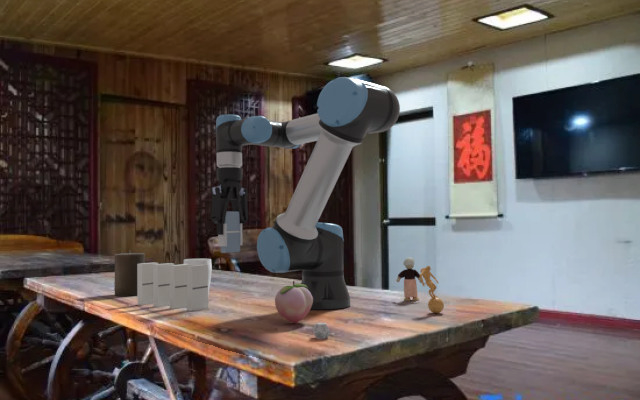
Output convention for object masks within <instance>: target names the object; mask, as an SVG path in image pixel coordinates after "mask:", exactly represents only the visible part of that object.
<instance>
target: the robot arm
mask: <svg viewBox="0 0 640 400" xmlns="http://www.w3.org/2000/svg"><path fill="white" fill-rule="evenodd" d="M316 107H317V108H318V109H317V112H316V113H313V114H310V115H305V116H302V117H298V118H294V119H291V120H287V121H276V120H275V121H273V120H269V119H268V118H266V117H265V116H263V115H252V116H248V117H246V118H242V117H241V116H240V115H237V114H220V115H218V116H217V117H216V120H215V123H216V124H215V145H216V150H215V151H216V167H218V168H216V180H217V181H218V184H217V186H214V187H213V186H212V187H211V188H210V192H211V193H210V194H211V208H210V209H211V211H210V213H211V215H210V219H211V222H213V224H215V225H216V235H218V237H217V239H218V240H217V241H218V244H217V245H218V247H221V246H227V224H223V223H224V222H225V217H226V212H227V211H228V207H229V206H228V205H229V203H230V204H231V207H232V212H239V214H240V246H243V239H244V238H243V234H244V224H246V223H247V222H248V221H249V209H248V208H249V207H248V192H249V189H248V188H244V187H242V185H241V181H242V180H243V169H242V166H243V146H248V145H249V146H251V145H253V146H255V145H256V146H261V147H262V146H263V147H264V146H265V147H275V148H281V149H285V150H289V149H297V148H299V147H300V146H301V145H303V144H308V143H312V142H316V143H315V144H314V148H313V149H312V150H311V151H312V152H311V154H310V156H309V158H308V160H307V163H306V165H305V168H304V170H303V172H302V174H301V177H300V179H299V181H298V182H297V185H296V187H295V190H294V192H293V194H292V197H291V198H290V201H289V204H288V206H287V209H286V210H285V212H283V213H280V214H277V216H276V218H275V221H274V223H273V225H272V226H271V227H266V228H264V229H262V231H260V233H259V235H258V237H257V241H256V250H257V255H258V258H259V261H260V263H261V265H262V266H263V267H264V268H265V269H266V270H267V271H269V272H271V273H280V274H284V273H288V272H289V273H290V272H298V271H302V273H301V275H302V278H301V283H300V284H303V285H306V286H307V287H308V290H309V291H310V293H311V295H312V297H313V303H312V306H311V309H310V310H338V309H344V308H347V307H351V296H350V293H349V291H348V290H349V289H348V287H347V283H346V282H345V281H346V280H345V277H344V266H345V265H344V257H345V255H344V254H345V253H344V251H345V250H344V242H345V239H344V233H343V228H342V226H340V225H339V224H336V223H328V222H319V219H320V218H321V215H322V213H323V211H324V210H325V207H326V205H327V204H328V200H329V198H330V196H331V194H332V193H333V190H334V188H335V186H336V183H337V182H338V179H339V177H340V175H341V172H342V171H343V169H344V168H345V167H344V166H345V164H346V163H347V160H348V159H349V156H350V154H351V151H352V150H353V148H354V147H356V146H359V145H361V144H362V143H363V141H364V139H365V137H366V135H371V134H377V133H383V132H386V131H388V130H390V129H391V128H392V127H393V126H395V124H396V122H397V121H398V118H399V116H400V113H401V112H400V111H401V110H400V109H401V105H400V101H399V99H398V97H397V95H396V94H395V92H393V90H391V89H390V88H389V87H387V86H385V85H381V84H377V83H373V82H369V81H365V80H362V79H358V78H357V77H346V76H342V77H341V76H340V77H337V78H334V79H332V80H331V81H329V82H328V83H326V85H325V86H324V87H323V88H322V90H321V92H320V93H319V95H318V98H317V102H316ZM220 218H221V219H220ZM306 289H307V288H306Z"/></svg>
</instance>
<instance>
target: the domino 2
mask: <svg viewBox="0 0 640 400" xmlns="http://www.w3.org/2000/svg"><path fill="white" fill-rule="evenodd" d="M169 265H175V263H173V262H168V263H167V262H166V263H158V264H155V265H153V305H152V307H153V308H160V307H162V308H163V307H167V306H170V269H169Z"/></svg>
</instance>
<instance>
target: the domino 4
mask: <svg viewBox="0 0 640 400" xmlns="http://www.w3.org/2000/svg"><path fill="white" fill-rule="evenodd" d="M205 309H209V295H208V265H195V266H187V307H186V311H189V312H195V311H200V310H205Z"/></svg>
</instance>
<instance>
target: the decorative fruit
mask: <svg viewBox="0 0 640 400" xmlns="http://www.w3.org/2000/svg"><path fill="white" fill-rule="evenodd" d="M306 288H307V289H306ZM312 303H313V297H312V295H311V293H310V291H309V290H308V287H307V286H306V285H303V284H301V283H295V280H293V281H292V285H286V286H284V287H282V288H281V289H279V290H278V291H277V293H276V295H275V298H274V305H275V308H276V309H275V310H276V311H277V313H278V315H280V316H281V317H282V319H285V320H286V321H288V322H290V323H292V324H296V323H299V322H300V321H301V320H302V319H304V318H305V317H306V316H307V315H308V314H309V312H310V310H312V309H311V306H312Z"/></svg>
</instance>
